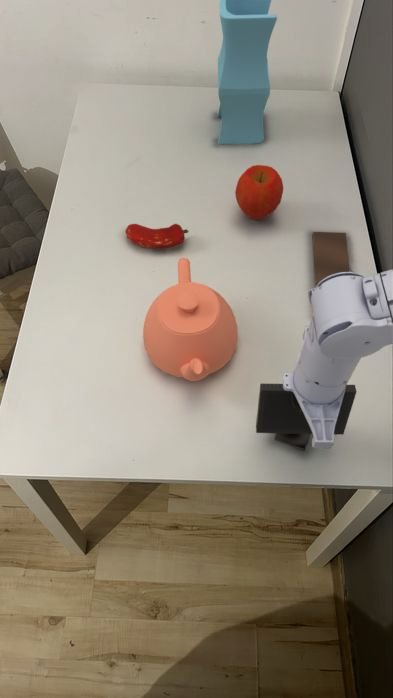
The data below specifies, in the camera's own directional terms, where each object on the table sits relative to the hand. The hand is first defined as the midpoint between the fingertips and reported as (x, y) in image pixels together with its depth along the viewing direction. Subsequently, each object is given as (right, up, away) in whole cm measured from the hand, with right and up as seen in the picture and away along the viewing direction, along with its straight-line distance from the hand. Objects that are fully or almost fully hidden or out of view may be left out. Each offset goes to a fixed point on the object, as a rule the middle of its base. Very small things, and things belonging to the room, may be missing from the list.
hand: (305, 411), depth 65 cm
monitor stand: (0, -5, +9) cm, 10 cm away
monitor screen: (0, -3, +5) cm, 6 cm away
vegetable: (-22, +28, +29) cm, 45 cm away
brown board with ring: (+10, +21, +24) cm, 33 cm away
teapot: (-15, +8, +17) cm, 24 cm away
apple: (-3, +33, +31) cm, 46 cm away
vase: (-5, +56, +44) cm, 71 cm away
